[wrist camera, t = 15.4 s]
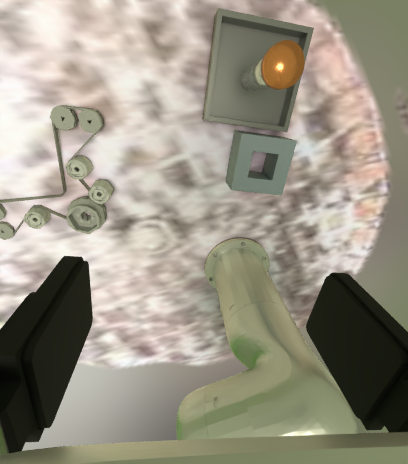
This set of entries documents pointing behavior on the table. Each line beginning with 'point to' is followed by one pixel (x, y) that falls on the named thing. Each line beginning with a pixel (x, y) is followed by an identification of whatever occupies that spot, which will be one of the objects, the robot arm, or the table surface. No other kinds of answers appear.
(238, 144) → the block
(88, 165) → the pulley system
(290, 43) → the pin
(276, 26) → the parts tray
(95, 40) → the table surface
